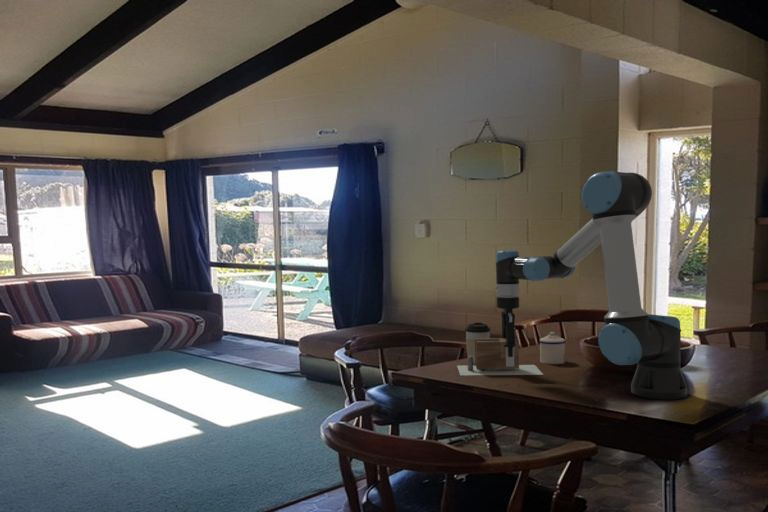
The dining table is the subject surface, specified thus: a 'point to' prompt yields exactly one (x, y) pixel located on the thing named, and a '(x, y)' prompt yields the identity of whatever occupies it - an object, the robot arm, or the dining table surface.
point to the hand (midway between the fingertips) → (508, 363)
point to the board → (498, 370)
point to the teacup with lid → (552, 349)
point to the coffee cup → (475, 336)
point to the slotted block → (494, 353)
